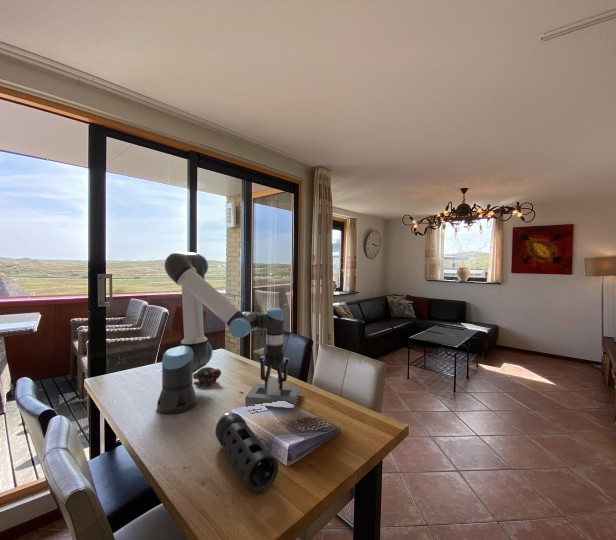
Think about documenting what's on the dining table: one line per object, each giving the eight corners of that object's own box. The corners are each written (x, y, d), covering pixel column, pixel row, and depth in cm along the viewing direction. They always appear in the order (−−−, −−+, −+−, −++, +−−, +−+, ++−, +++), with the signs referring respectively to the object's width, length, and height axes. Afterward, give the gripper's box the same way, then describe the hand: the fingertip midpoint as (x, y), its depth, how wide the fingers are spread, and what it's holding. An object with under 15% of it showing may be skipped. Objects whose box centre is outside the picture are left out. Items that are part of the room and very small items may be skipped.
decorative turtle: (217, 388, 142) (216, 372, 142) (188, 387, 145) (187, 371, 144) (226, 379, 152) (225, 364, 151) (199, 379, 154) (197, 364, 154)
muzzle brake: (245, 503, 75) (246, 462, 75) (213, 445, 98) (213, 414, 98) (279, 487, 80) (279, 450, 80) (240, 436, 103) (241, 407, 103)
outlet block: (245, 404, 126) (245, 396, 126) (255, 390, 140) (255, 383, 140) (293, 409, 123) (293, 400, 123) (299, 394, 137) (299, 387, 137)
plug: (270, 393, 135) (270, 374, 134) (279, 394, 134) (279, 374, 134) (268, 397, 131) (268, 377, 130) (277, 398, 130) (277, 378, 130)
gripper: (253, 344, 129) (252, 398, 129) (291, 346, 126) (290, 401, 127) (258, 340, 136) (257, 390, 137) (295, 342, 134) (294, 393, 134)
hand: (273, 395), depth 132 cm, fingers closed on plug, 4 cm apart
